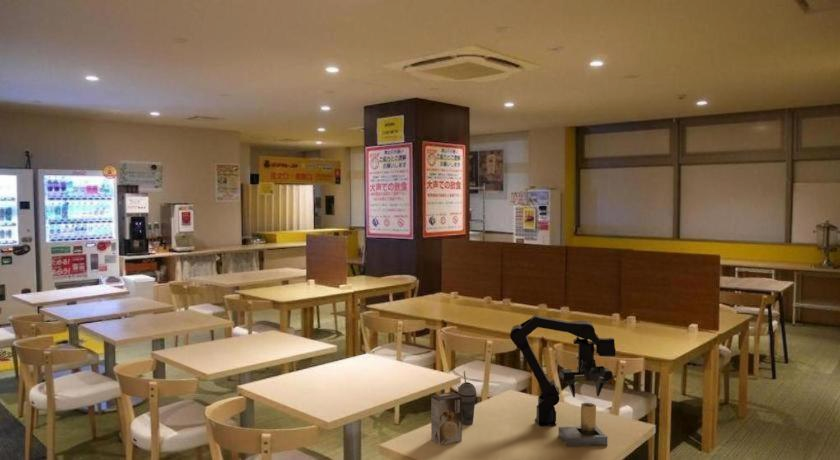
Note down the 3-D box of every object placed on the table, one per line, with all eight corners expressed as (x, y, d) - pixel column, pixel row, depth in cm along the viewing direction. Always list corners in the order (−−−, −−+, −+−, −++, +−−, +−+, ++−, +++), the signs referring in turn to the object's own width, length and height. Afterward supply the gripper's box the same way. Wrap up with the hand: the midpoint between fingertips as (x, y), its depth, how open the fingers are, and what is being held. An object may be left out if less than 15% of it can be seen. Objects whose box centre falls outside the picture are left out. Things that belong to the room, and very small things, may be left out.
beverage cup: (475, 427, 222) (475, 374, 221) (455, 426, 224) (456, 373, 223) (477, 420, 229) (478, 369, 228) (458, 419, 231) (459, 367, 230)
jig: (568, 446, 206) (568, 438, 206) (558, 435, 216) (558, 426, 216) (607, 445, 207) (607, 436, 207) (595, 433, 217) (596, 425, 217)
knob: (578, 440, 211) (579, 405, 210) (582, 435, 215) (583, 401, 215) (592, 443, 208) (593, 408, 208) (596, 439, 213) (597, 404, 212)
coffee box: (452, 434, 216) (453, 391, 215) (462, 441, 210) (462, 396, 209) (430, 439, 211) (430, 394, 211) (439, 446, 206) (439, 400, 205)
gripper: (569, 362, 215) (568, 405, 215) (619, 360, 216) (618, 403, 217) (559, 354, 226) (558, 394, 227) (606, 352, 227) (606, 393, 228)
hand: (585, 396), depth 224 cm, fingers open, 9 cm apart
